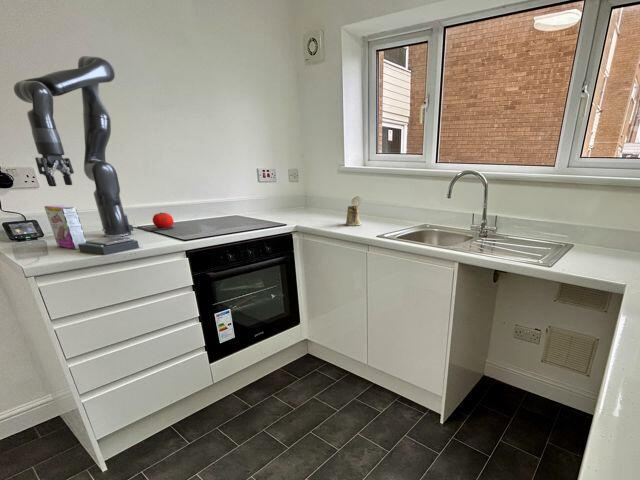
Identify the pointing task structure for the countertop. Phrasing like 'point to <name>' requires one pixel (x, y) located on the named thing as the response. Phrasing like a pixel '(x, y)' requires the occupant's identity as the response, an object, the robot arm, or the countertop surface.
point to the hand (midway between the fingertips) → (61, 185)
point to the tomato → (163, 220)
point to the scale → (108, 247)
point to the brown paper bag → (353, 213)
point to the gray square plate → (109, 240)
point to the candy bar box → (65, 226)
